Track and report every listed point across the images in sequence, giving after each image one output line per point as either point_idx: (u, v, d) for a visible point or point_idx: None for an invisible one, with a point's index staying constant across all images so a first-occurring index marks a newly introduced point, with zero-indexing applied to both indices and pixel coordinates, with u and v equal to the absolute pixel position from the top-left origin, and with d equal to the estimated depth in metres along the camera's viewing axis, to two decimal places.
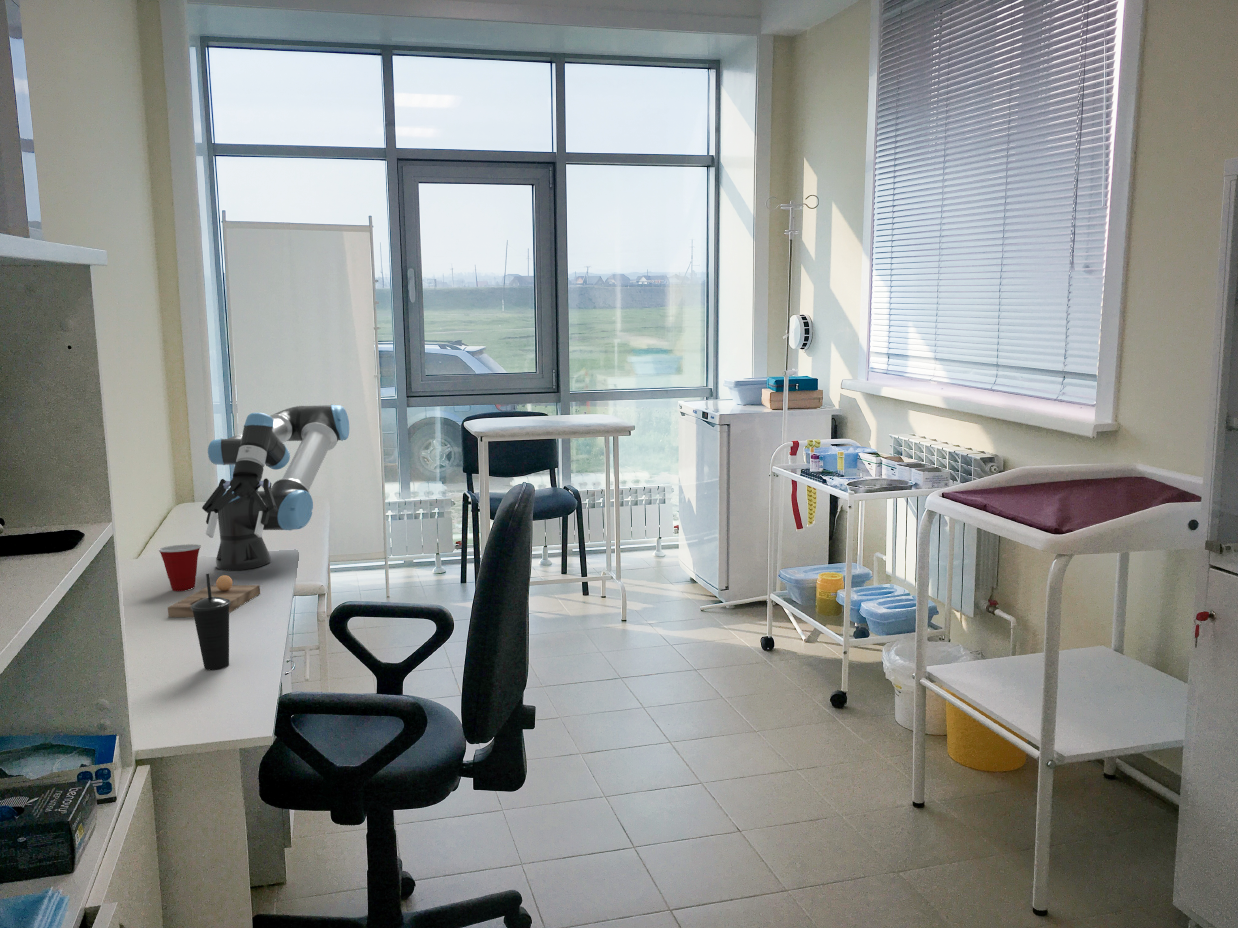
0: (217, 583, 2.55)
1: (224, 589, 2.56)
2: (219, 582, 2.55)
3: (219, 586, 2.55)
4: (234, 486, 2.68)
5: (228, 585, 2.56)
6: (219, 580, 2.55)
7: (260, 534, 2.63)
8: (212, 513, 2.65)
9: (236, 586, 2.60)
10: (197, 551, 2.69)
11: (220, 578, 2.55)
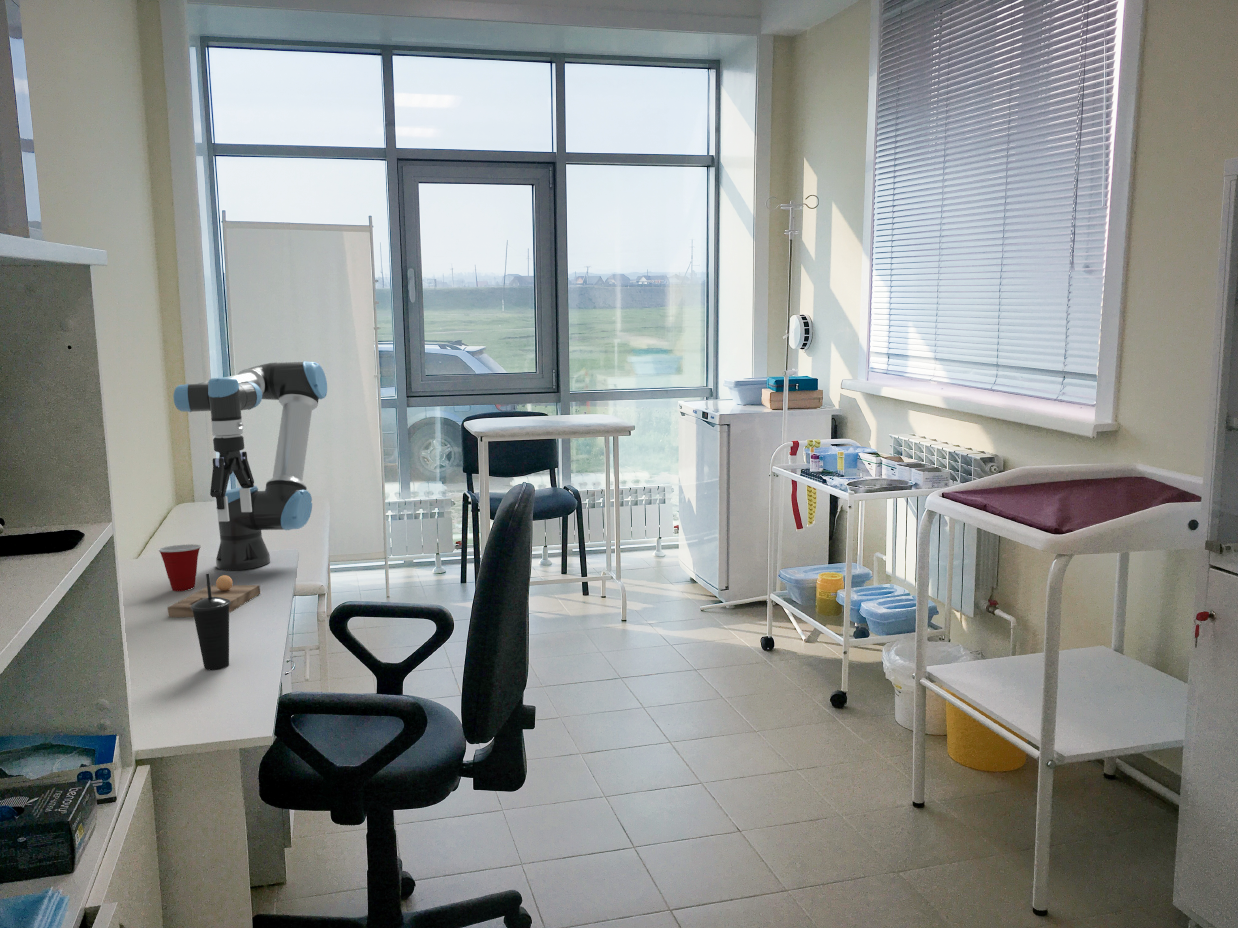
0: (217, 583, 2.55)
1: (224, 589, 2.56)
2: (219, 582, 2.55)
3: (219, 586, 2.55)
4: (233, 464, 2.59)
5: (228, 585, 2.56)
6: (219, 580, 2.55)
7: None
8: (226, 498, 2.56)
9: (236, 586, 2.60)
10: (197, 551, 2.69)
11: (220, 578, 2.55)
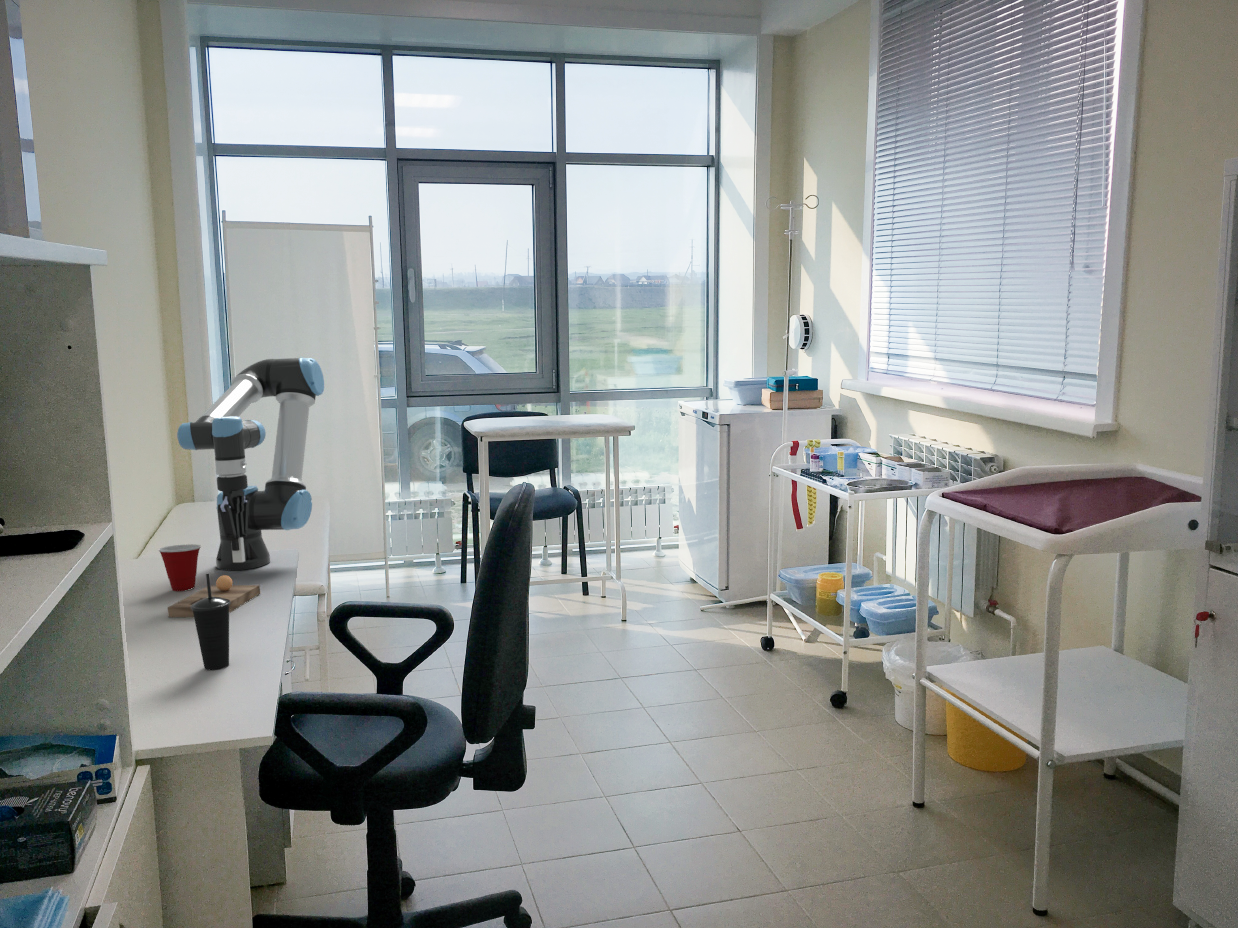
0: (217, 583, 2.55)
1: (224, 589, 2.56)
2: (219, 582, 2.55)
3: (219, 586, 2.55)
4: (238, 504, 2.61)
5: (228, 585, 2.56)
6: (219, 580, 2.55)
7: None
8: (241, 540, 2.63)
9: (236, 586, 2.60)
10: (197, 551, 2.69)
11: (220, 578, 2.55)
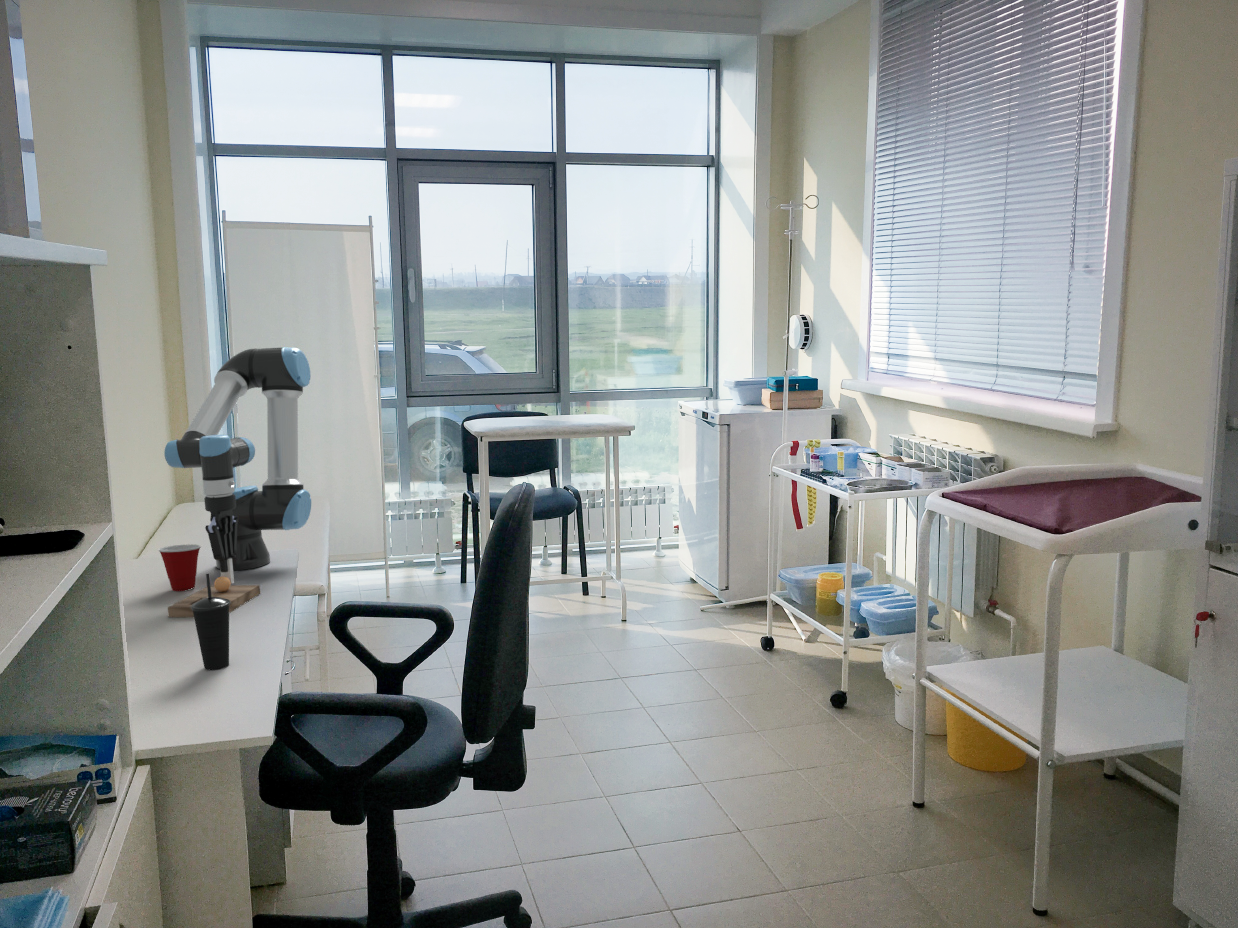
0: (215, 587, 2.54)
1: None
2: (217, 587, 2.54)
3: (218, 590, 2.54)
4: (226, 524, 2.55)
5: (227, 587, 2.55)
6: (217, 584, 2.54)
7: None
8: (230, 561, 2.57)
9: (236, 586, 2.60)
10: (197, 551, 2.69)
11: (217, 582, 2.54)
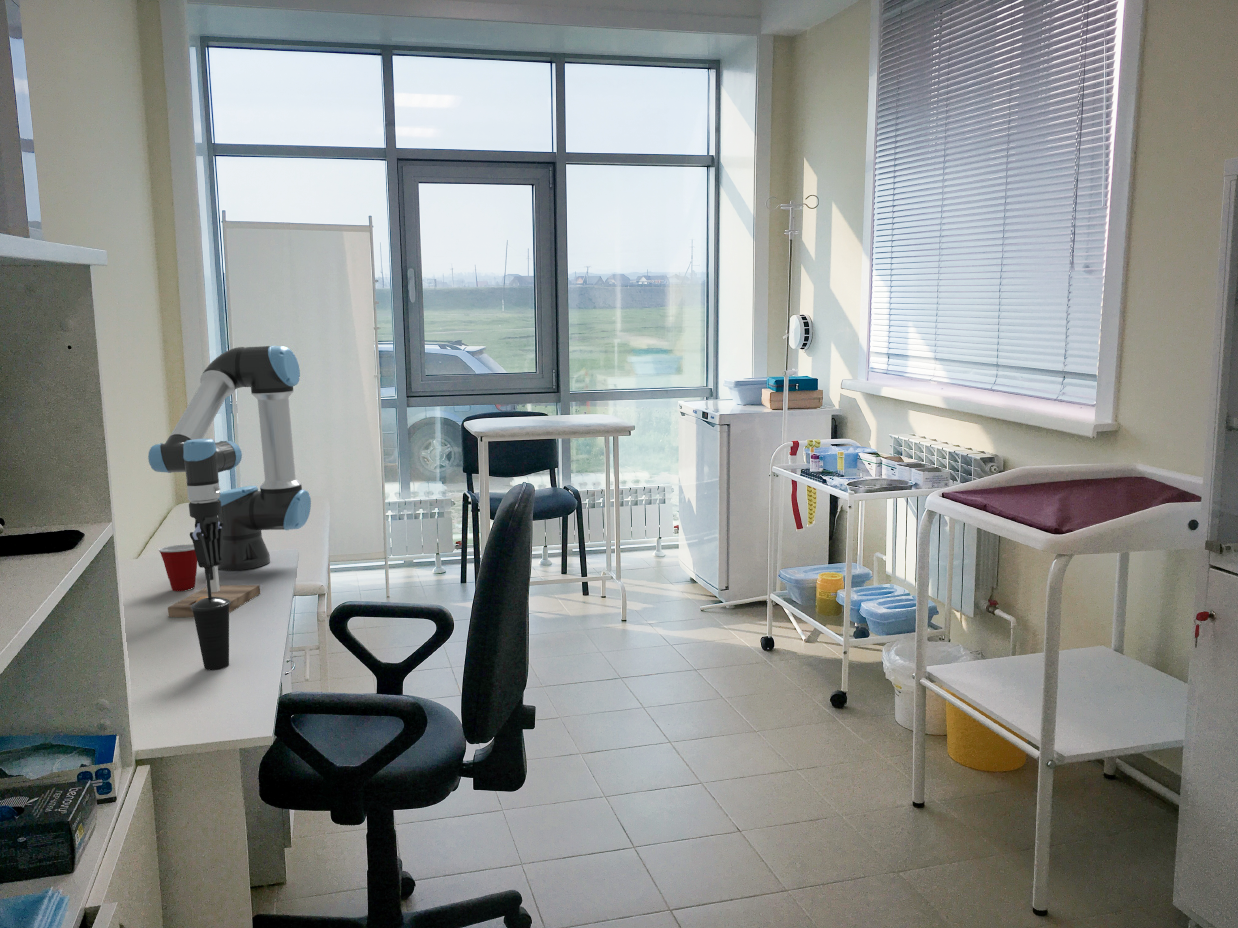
0: None
1: None
2: (199, 599, 2.45)
3: None
4: (211, 531, 2.48)
5: None
6: (200, 598, 2.45)
7: None
8: (215, 568, 2.50)
9: (236, 586, 2.60)
10: None
11: (201, 597, 2.46)
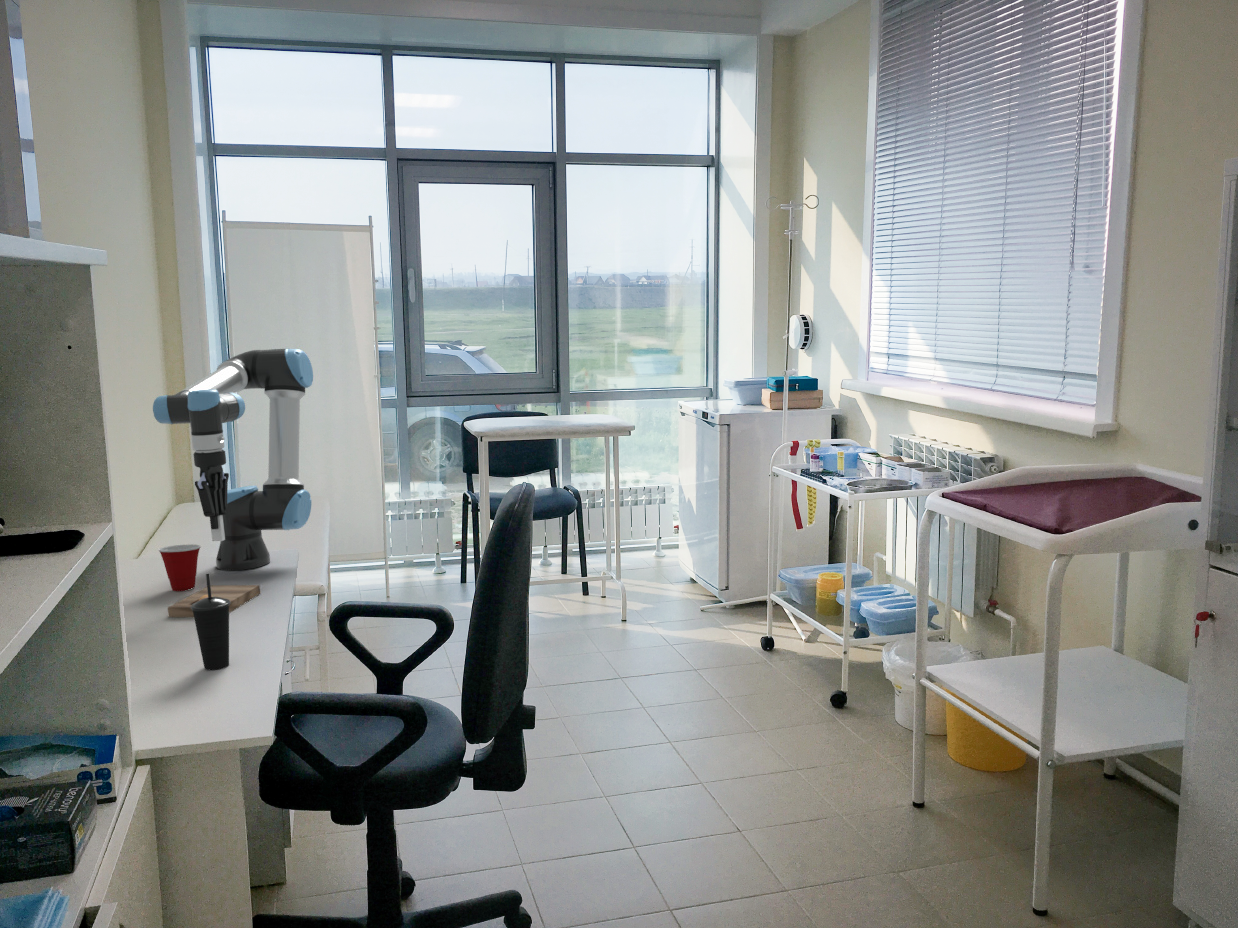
0: (202, 596, 2.48)
1: None
2: (204, 595, 2.48)
3: (202, 597, 2.47)
4: (216, 480, 2.50)
5: None
6: None
7: None
8: (220, 518, 2.53)
9: (236, 586, 2.60)
10: (197, 551, 2.69)
11: None
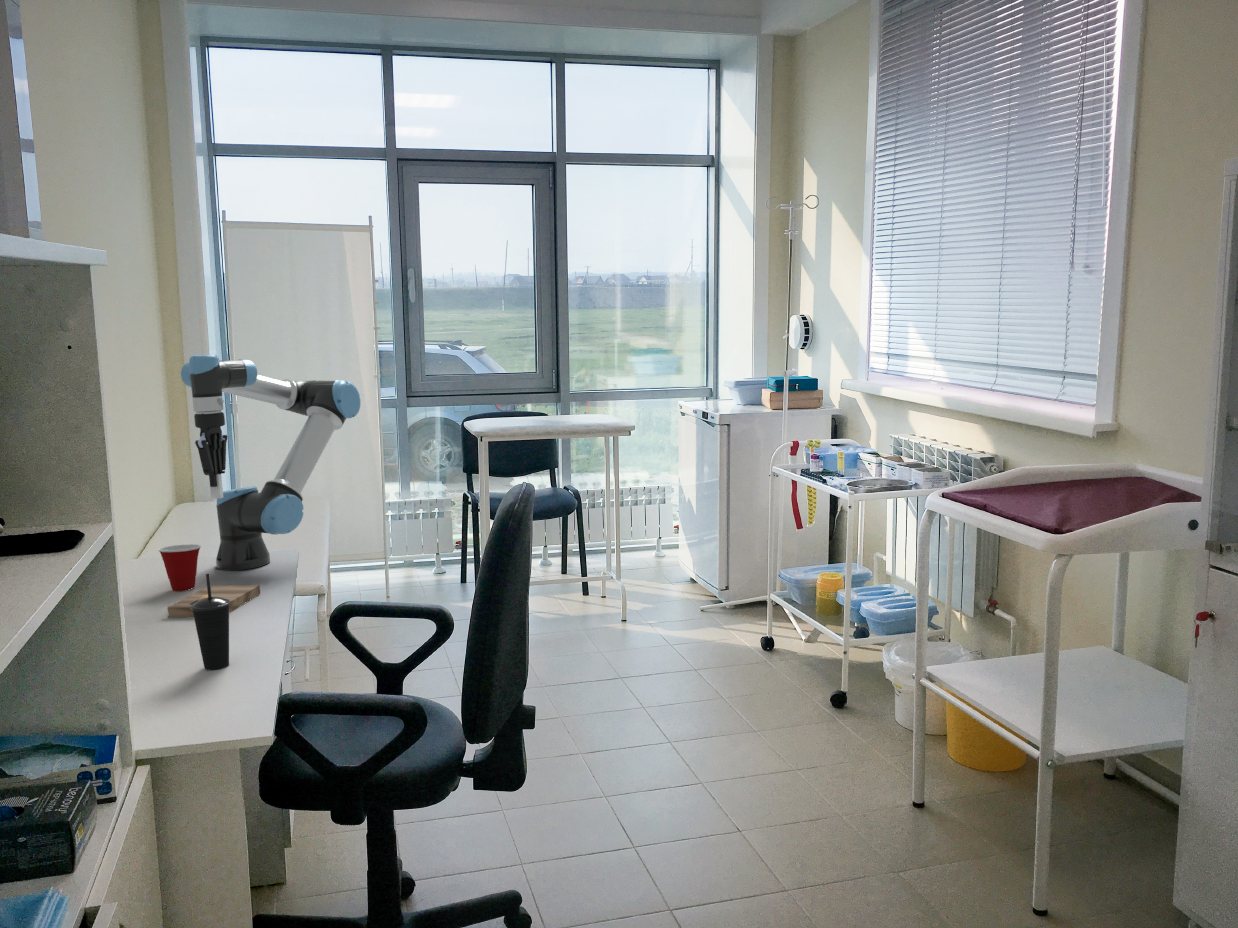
0: None
1: None
2: (204, 595, 2.47)
3: (202, 598, 2.46)
4: (215, 440, 2.66)
5: None
6: (204, 595, 2.48)
7: None
8: (219, 476, 2.68)
9: (236, 586, 2.60)
10: (197, 551, 2.69)
11: None
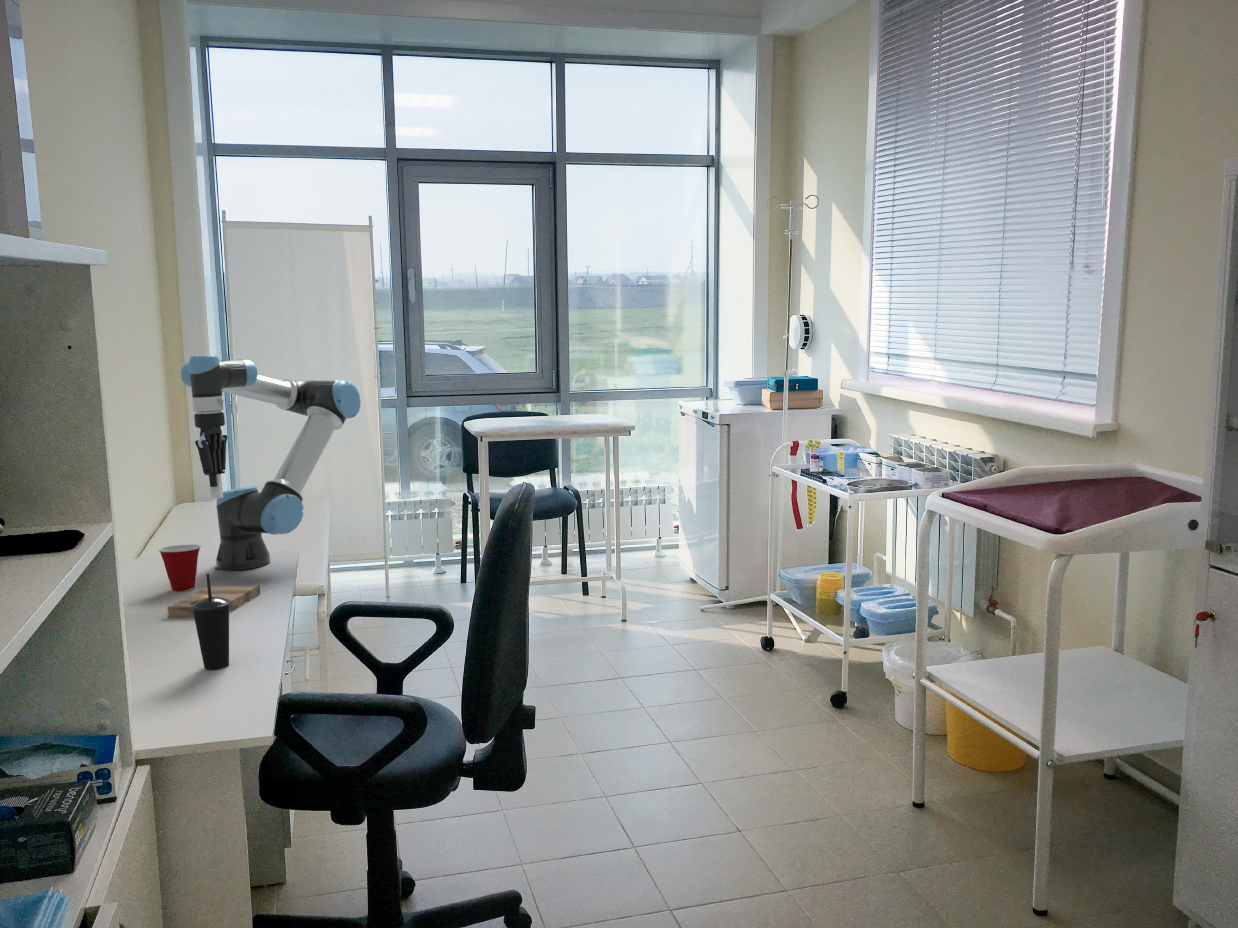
0: (200, 597, 2.47)
1: None
2: None
3: (201, 598, 2.46)
4: (215, 440, 2.66)
5: None
6: (204, 595, 2.47)
7: None
8: (219, 476, 2.68)
9: (236, 586, 2.60)
10: (197, 551, 2.69)
11: None
